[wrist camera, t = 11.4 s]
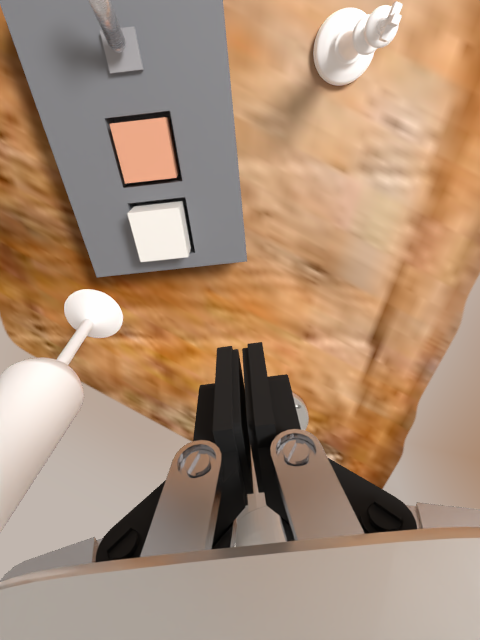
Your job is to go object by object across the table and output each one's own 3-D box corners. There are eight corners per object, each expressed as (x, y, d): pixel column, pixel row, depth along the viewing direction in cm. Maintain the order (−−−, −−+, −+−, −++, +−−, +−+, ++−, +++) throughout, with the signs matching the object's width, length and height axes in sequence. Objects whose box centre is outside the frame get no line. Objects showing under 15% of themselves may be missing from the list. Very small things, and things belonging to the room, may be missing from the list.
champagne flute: (132, 308, 39) (31, 519, 19) (108, 346, 42) (-4, 568, 21) (77, 278, 37) (-108, 480, 16) (55, 320, 40) (-127, 540, 19)
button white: (190, 247, 32) (188, 257, 30) (146, 252, 33) (140, 262, 30) (182, 201, 30) (178, 207, 28) (134, 206, 30) (127, 213, 28)
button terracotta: (179, 173, 30) (176, 177, 28) (132, 178, 30) (125, 183, 28) (169, 116, 28) (165, 117, 26) (118, 123, 28) (109, 123, 26)
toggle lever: (133, 59, 23) (90, -50, 17) (108, 62, 23) (55, -46, 17) (132, 36, 24) (88, -80, 17) (106, 39, 24) (54, -76, 17)
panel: (245, 249, 36) (247, 262, 32) (107, 264, 36) (95, 279, 33) (219, -22, 25) (218, -43, 22) (22, 3, 25) (-9, -14, 22)
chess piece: (303, 73, 28) (337, 55, 20) (328, -3, 26) (379, -61, 17) (356, 94, 29) (410, 85, 20) (384, 22, 27) (460, -21, 18)
